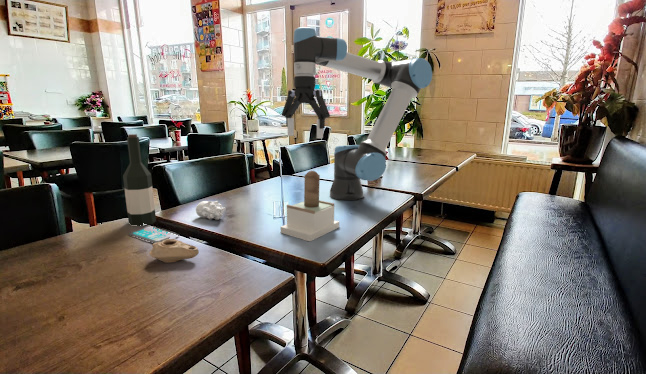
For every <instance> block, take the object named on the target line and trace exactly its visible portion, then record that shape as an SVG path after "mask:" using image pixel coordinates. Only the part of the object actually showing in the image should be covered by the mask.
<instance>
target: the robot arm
mask: <svg viewBox="0 0 646 374" xmlns="http://www.w3.org/2000/svg"><path fill="white" fill-rule="evenodd" d="M292 43H293V74H294V75H295V76H294V77H293V85H294V89H295V90H290V89H289V90H288V91H287V97H286V101H285V103H284V106H283V109H282V111H281V116H282V117H284V118H285V119H286V120H285V125H286V127H287V137H291V136H294V135H295V126H294V125H295V121H294V120H295V118H294V115H295V113H296V111H297V110H298V108H299V106H300V105H302V104H307V105H310V107H311V109H312V110H313V112H314V113H315V115H316V116H317V119H316V139H323V138H324V129H325V127H326V126H325V125H326V122H325V120H326V119H328V118H330V111H329V110H328V109H329V108H328V107H327V104H326V102H325V99H324V96H323V94H324V93H323V90H322V89H315V88H316V77H315V76H316V72H317V70H316V69H317V68H316V65H318V66H321V67H322V66H323V67H326V68H329V69H333V70H337V71H341V72H344V73H348V74H352V75H355V76H359V77H361V78H365V79H370V80H371V81H372V82H373V84H374V83H375V84H378V85H381V86H384V87H388V88H391V89H392V90H391V92H390V94H389V96H388V98H387V100H386V102H385V103H384V105H383V107H382V110H381V111H380V113H379V115H378V117H377V118H376V119H377V120H376V121H375V123H374V124H373V127H372V128H371V131H370V132H369V134H368V136H367V138H366V140H362V141H361V142H360V143H359V144H352V145H351V144H350V145H337V146H335V148H334V153H333V155H334V157H333V158H334V160H333V161H334V163H333V181H332V183H331V187H330V189H329V197H331V198H332V199H335V200H341V201H355V200H361V199H363V198H364V189H363V186H362V183H361V180H362V181H366V182H367V181H369V182H372V181H376V180H378V179H380V178H381V177H382V176H383V175H384V173H385V171H386V170H387V169H386V168H387V164H386V163H387V160H386V157H387V155H388V154H387V151H386V150H387V147H388V145H389V143H390V141H391V139H392V137H393V135H394V133H395V132H396V130H397V128H398V125H399V123H400V121H402V120H401V119H402V118H403V116H404V114H405V112H406V110H407V108H408V106H409V104H410V102H411V101H412V99H414V98H417V96H418V95H419V93H420V92H421V89H425V88H427V87H428V86H429V85H431V82H432V80H433V71H432V66H431V64H430V63H429V61H428V60H426V59H425V58H422V57H413V58H411V59H404V60H396V61H387V60H381V59H380V60H377V61H376V60H373V59H370V58H367V57H364V56H360V55H358V54H353V53H351V52H349V51H348V44H347V42H346V40H345V39H343V38H339V37H330V36H329V37H328V36H327V37H326V36H320V35H317V32H316V29H315V28H313V27H305V26H302V27H297V28H295V29H294V32H293V42H292Z"/></svg>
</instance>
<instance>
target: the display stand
mask: <svg viewBox="0 0 646 374" xmlns="http://www.w3.org/2000/svg"><path fill="white" fill-rule="evenodd" d="M339 228H340V221H339V220H335V203H333V202H330V201H325V200H320V199H319V206H318V207H306V206H304V201H301V202H298V203H295V204H287V205H286V224H284V225H282V226H280V233H281V234H284V235H287V236H291V237H293V238H297V239H300V240H302V241H306V242H307V241H308V242H311V241H314V240H317V239H318V238H320V237H322V236H324V235H327V234H328V233H330V232H332V231H335V230H337V229H339Z"/></svg>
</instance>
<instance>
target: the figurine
mask: <svg viewBox="0 0 646 374" xmlns="http://www.w3.org/2000/svg"><path fill="white" fill-rule="evenodd" d="M226 210H227V209H226V207H223V204H221V203H219V200H215V201H211V200H209V201H207V200H204V201H200V202H199V203H198V204H197V205H196V206H195V212H196V215H197V216H198V217H200V218H203V219H208V220H213V219H214V220H215V221H218V220H220V219H221V218H222V217H223V216H224V212H225V211H226Z"/></svg>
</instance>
